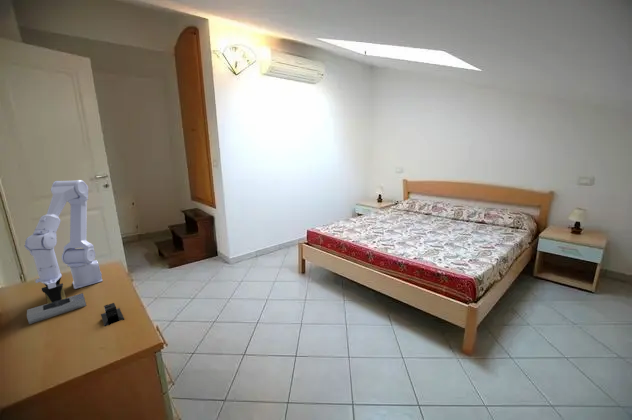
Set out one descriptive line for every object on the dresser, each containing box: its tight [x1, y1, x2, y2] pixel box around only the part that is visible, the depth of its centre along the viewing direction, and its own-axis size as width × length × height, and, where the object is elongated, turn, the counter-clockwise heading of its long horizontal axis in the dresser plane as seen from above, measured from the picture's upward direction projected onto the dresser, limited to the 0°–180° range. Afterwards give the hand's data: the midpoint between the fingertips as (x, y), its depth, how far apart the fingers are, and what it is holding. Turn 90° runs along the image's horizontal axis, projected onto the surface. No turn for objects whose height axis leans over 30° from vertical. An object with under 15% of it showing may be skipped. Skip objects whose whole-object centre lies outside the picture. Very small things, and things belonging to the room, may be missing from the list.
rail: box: [26, 292, 87, 325], centre depth 100 cm, size 15×5×3 cm, turn 134°
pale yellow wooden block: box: [44, 286, 67, 304], centre depth 105 cm, size 5×2×6 cm, turn 134°
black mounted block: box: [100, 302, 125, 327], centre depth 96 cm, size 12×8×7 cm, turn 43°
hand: (56, 298), depth 105 cm, fingers open, 7 cm apart
